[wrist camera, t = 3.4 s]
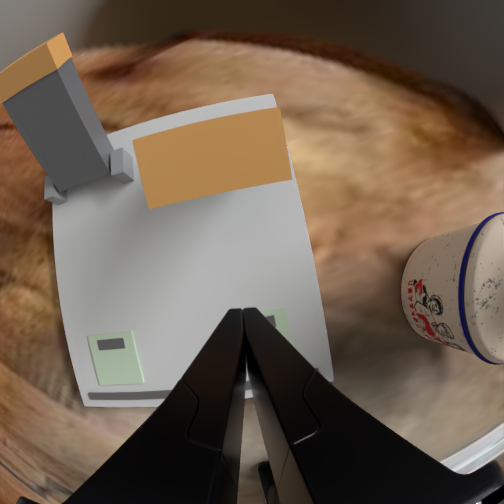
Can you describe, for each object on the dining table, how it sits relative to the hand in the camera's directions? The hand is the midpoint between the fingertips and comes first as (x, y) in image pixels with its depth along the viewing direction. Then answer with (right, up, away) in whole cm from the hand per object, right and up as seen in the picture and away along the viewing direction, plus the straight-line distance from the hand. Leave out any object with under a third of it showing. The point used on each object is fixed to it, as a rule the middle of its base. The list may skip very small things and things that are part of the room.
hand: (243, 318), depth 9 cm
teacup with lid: (+17, -2, +12) cm, 21 cm away
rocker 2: (-2, +10, +12) cm, 16 cm away
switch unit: (-6, +2, +13) cm, 14 cm away
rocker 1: (-13, +8, +12) cm, 19 cm away
